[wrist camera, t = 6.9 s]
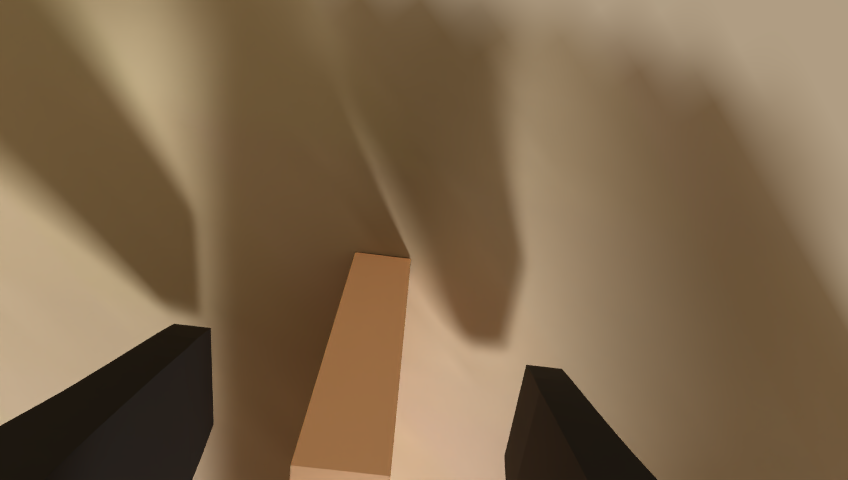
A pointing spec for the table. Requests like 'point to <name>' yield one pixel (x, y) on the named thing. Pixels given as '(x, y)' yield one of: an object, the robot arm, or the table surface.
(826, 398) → the table surface
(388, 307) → the long wooden plank
